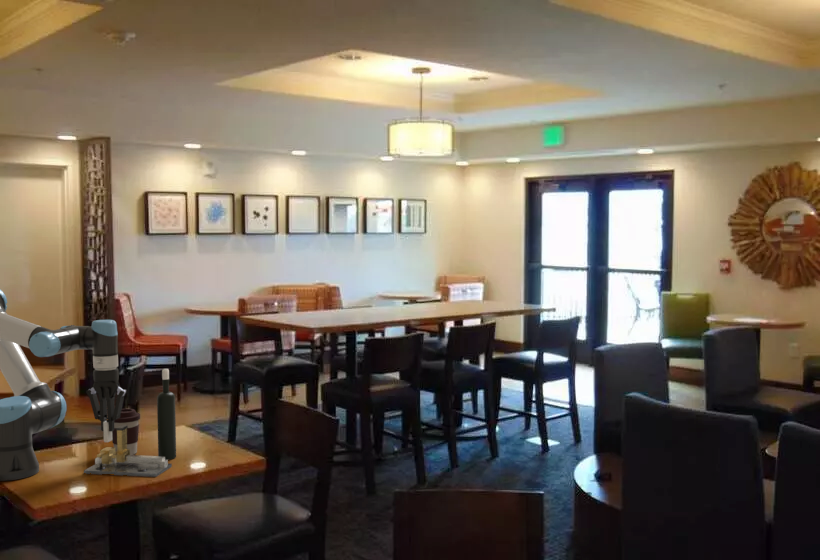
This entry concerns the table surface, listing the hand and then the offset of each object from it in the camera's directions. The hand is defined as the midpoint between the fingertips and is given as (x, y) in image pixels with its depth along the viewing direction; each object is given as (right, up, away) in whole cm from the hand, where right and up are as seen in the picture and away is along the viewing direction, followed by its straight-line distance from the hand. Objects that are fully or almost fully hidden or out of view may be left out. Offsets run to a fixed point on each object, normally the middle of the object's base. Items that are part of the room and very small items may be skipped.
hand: (108, 440), depth 258 cm
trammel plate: (+7, -9, -3) cm, 12 cm away
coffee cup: (0, -8, +16) cm, 18 cm away
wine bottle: (+16, -8, +11) cm, 21 cm away
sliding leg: (+4, -7, -2) cm, 9 cm away
